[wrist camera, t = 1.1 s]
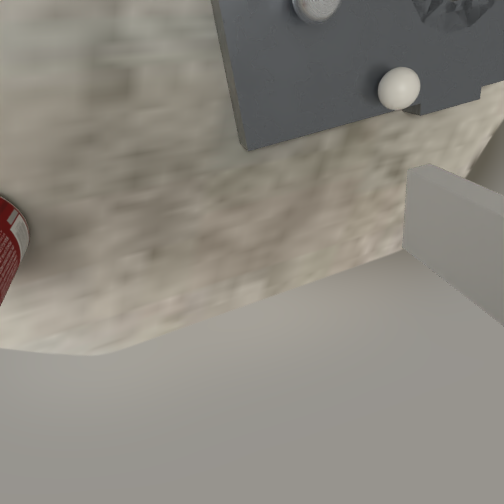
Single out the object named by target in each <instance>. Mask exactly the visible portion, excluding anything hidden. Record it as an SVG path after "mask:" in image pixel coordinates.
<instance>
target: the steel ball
mask: <svg viewBox="0 0 504 504" xmlns="http://www.w3.org/2000/svg"><path fill="white" fill-rule="evenodd" d="M292 3H293V7H294V10H295V12H296V14H297V15H298V17H299V18H300V19H301V20H303V21H304V22H306V23H308V24H312V25H319V24H323V23H325V22H327V21H329V20H330V19H331V18H332V17H333V16H334V15H335V14H336V13H337V11H338V10H339V8H340V5H341V3H342V0H292Z"/></svg>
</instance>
